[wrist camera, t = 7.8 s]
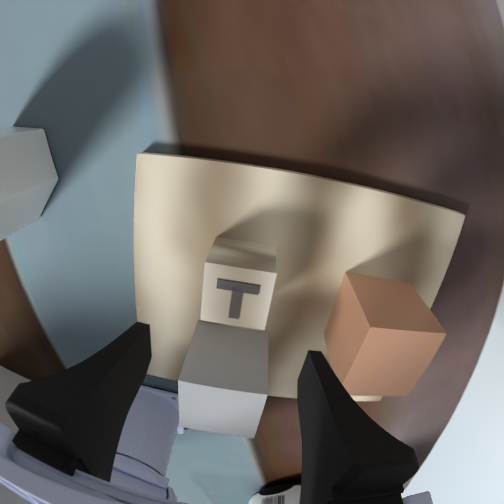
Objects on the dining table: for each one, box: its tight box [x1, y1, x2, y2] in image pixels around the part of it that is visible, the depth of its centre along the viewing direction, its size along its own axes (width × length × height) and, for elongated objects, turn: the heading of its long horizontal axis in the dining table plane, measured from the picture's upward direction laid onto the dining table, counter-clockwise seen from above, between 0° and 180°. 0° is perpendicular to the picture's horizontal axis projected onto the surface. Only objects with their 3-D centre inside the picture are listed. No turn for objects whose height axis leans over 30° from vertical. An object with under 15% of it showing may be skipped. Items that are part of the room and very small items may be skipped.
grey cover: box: [178, 321, 269, 438], centre depth 21 cm, size 6×6×6 cm
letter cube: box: [200, 237, 277, 330], centre depth 19 cm, size 4×4×4 cm
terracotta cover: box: [324, 272, 447, 396], centre depth 19 cm, size 6×6×6 cm
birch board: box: [134, 152, 465, 401], centre depth 23 cm, size 24×20×1 cm
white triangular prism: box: [0, 366, 32, 504], centre depth 21 cm, size 19×15×28 cm
